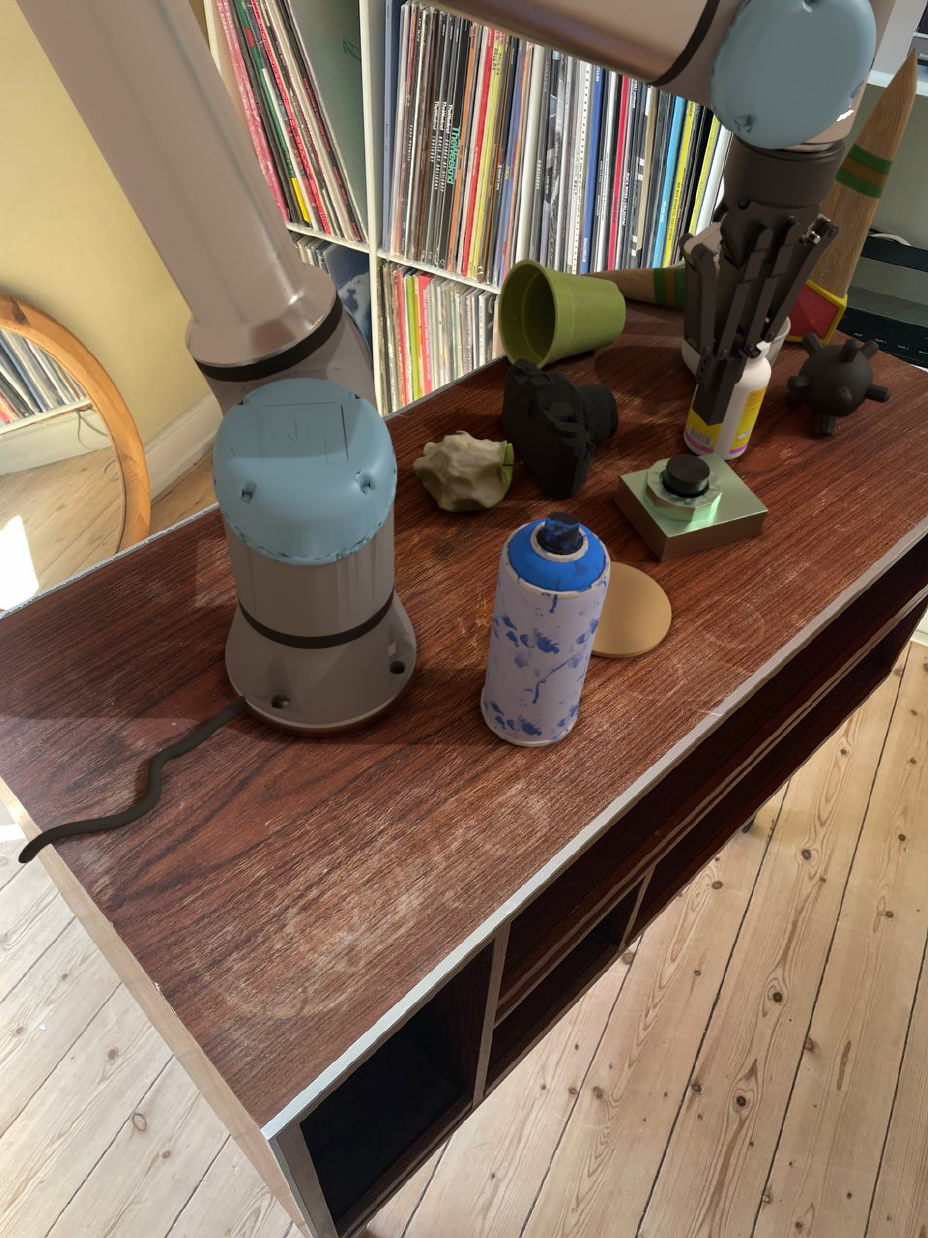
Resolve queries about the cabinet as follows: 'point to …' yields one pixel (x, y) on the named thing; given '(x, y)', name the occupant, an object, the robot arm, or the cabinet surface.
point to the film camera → (556, 424)
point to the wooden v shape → (844, 206)
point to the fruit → (466, 472)
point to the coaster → (631, 614)
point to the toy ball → (835, 380)
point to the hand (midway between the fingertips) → (707, 415)
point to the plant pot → (556, 313)
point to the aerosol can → (543, 629)
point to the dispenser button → (686, 476)
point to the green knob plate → (690, 510)
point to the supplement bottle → (732, 413)
